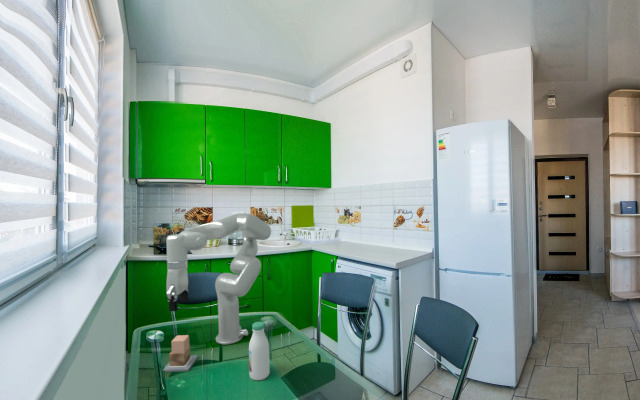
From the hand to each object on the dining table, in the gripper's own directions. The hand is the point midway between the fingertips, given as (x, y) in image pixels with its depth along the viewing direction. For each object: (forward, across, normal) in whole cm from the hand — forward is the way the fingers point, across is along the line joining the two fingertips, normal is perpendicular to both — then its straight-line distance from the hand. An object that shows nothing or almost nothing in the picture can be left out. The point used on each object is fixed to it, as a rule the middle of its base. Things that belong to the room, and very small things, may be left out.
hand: (179, 306), depth 125 cm
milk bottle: (+24, +9, +34) cm, 43 cm away
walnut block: (+23, 0, 0) cm, 23 cm away
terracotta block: (+18, 0, 0) cm, 18 cm away
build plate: (+24, 0, 0) cm, 24 cm away
